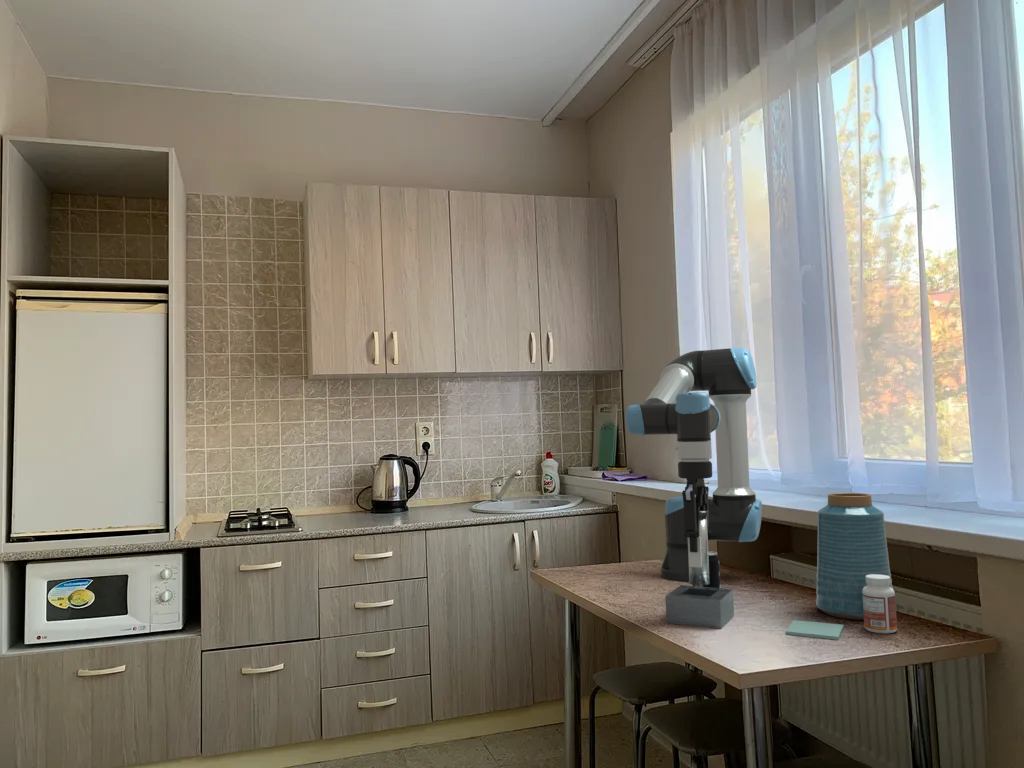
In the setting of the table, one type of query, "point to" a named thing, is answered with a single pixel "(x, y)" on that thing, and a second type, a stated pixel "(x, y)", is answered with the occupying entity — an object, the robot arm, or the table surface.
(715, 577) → the beverage can
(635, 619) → the table surface
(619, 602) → the table surface
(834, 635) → the mat
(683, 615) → the block
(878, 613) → the pill bottle
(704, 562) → the glass tube
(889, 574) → the vase
